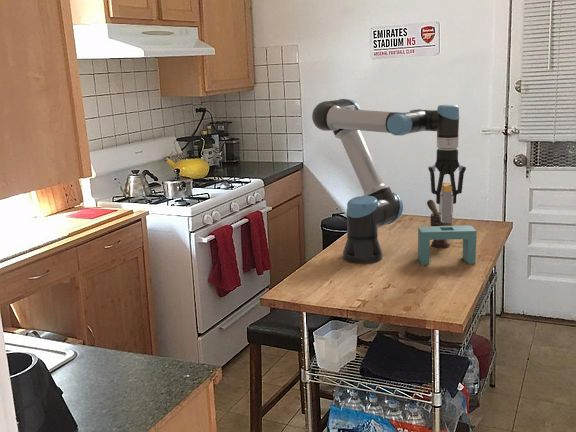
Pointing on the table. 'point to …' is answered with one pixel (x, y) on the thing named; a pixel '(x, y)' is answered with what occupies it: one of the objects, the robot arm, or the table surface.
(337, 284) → the table surface
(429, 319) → the table surface
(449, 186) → the golden orange block
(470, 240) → the teal slotted arch
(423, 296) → the table surface
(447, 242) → the mortar and pestle
